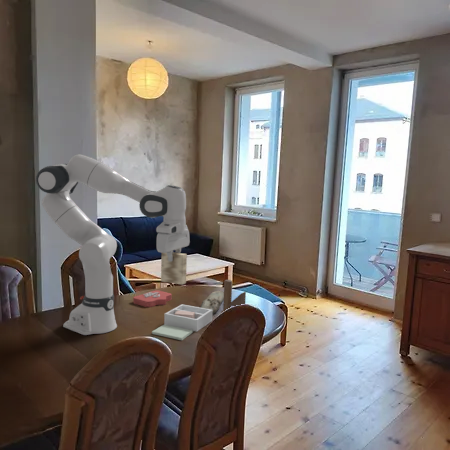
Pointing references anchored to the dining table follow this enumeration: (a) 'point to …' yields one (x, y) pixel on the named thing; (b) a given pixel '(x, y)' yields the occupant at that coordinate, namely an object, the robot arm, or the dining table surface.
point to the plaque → (152, 298)
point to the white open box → (196, 324)
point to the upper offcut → (186, 314)
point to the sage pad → (172, 332)
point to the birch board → (174, 268)
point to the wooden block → (228, 296)
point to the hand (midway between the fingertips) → (173, 260)
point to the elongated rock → (213, 301)
